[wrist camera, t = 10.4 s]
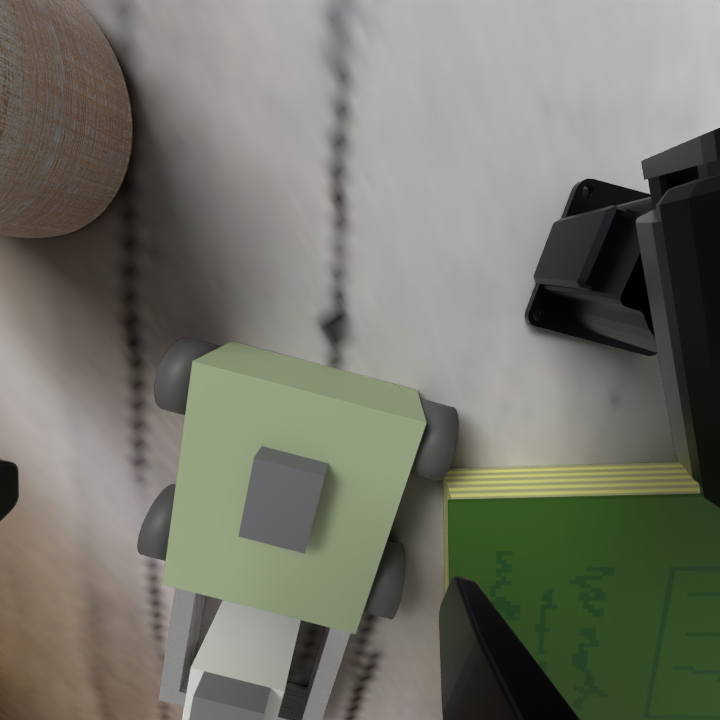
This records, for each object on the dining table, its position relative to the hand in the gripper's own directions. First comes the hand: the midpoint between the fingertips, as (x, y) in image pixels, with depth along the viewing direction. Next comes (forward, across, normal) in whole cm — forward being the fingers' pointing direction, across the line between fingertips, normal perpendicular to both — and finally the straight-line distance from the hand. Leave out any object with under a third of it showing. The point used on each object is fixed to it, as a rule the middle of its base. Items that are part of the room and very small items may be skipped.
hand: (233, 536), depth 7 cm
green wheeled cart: (+12, 0, +6) cm, 13 cm away
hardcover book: (+13, -22, +9) cm, 27 cm away
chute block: (+12, 0, +17) cm, 21 cm away
